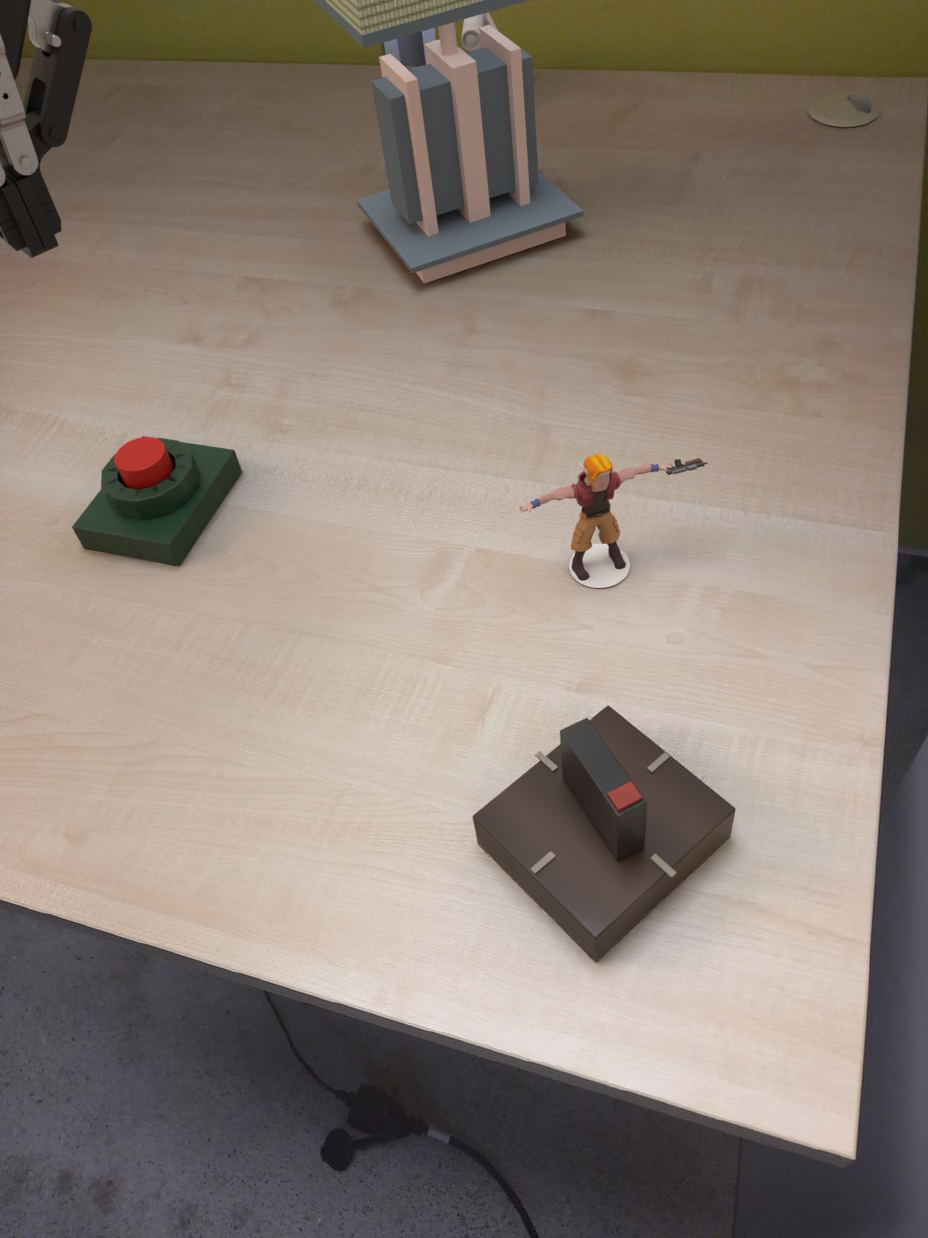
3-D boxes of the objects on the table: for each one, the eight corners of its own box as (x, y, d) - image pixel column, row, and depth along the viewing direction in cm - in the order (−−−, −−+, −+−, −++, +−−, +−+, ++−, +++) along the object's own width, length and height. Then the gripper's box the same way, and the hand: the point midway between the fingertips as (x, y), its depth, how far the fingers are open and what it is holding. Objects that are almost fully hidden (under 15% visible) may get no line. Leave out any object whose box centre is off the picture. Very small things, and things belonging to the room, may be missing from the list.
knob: (562, 777, 54) (558, 727, 50) (588, 764, 54) (587, 713, 51) (617, 862, 50) (618, 814, 47) (645, 847, 51) (647, 799, 47)
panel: (601, 968, 50) (600, 943, 48) (473, 839, 55) (466, 810, 53) (736, 841, 54) (742, 811, 51) (603, 730, 59) (603, 698, 57)
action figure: (685, 518, 69) (694, 408, 62) (705, 547, 67) (716, 436, 60) (518, 570, 68) (508, 462, 61) (533, 600, 66) (524, 493, 59)
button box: (179, 566, 71) (160, 526, 68) (83, 548, 74) (60, 508, 71) (242, 471, 77) (227, 430, 74) (152, 457, 80) (133, 416, 76)
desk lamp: (524, 171, 102) (497, -249, 77) (591, 233, 93) (585, -219, 69) (353, 226, 99) (268, -195, 74) (407, 296, 90) (330, -156, 65)
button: (157, 492, 71) (148, 474, 70) (113, 485, 72) (104, 466, 71) (182, 458, 73) (174, 439, 72) (139, 452, 74) (130, 433, 73)
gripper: (-30, -231, 43) (119, 175, 56) (-363, -145, 38) (-114, 277, 51) (46, -217, 39) (188, 218, 52) (-317, -118, 34) (-59, 334, 47)
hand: (37, 247), depth 51 cm, fingers closed
